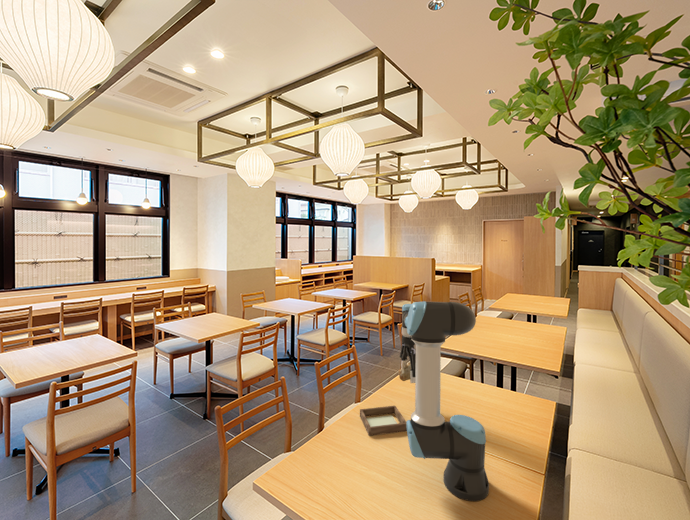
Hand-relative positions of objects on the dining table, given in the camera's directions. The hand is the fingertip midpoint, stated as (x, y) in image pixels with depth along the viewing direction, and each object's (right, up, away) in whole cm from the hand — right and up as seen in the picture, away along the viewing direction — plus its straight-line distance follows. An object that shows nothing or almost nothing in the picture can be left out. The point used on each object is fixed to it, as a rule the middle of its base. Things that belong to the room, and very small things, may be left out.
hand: (408, 377), depth 169 cm
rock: (0, -2, +1) cm, 2 cm away
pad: (-14, -17, -13) cm, 26 cm away
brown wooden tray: (-14, -17, -13) cm, 26 cm away
